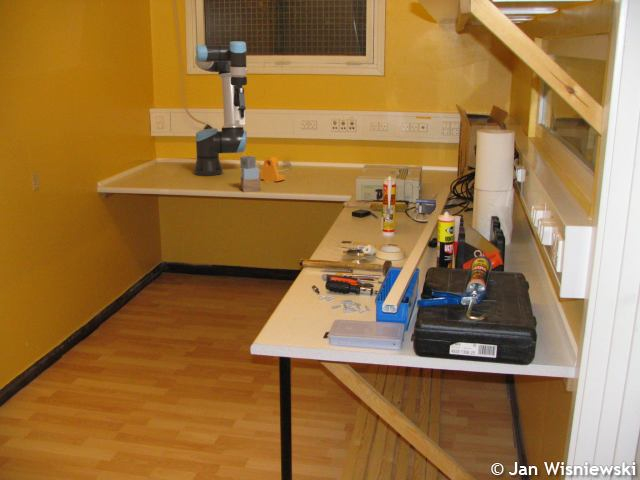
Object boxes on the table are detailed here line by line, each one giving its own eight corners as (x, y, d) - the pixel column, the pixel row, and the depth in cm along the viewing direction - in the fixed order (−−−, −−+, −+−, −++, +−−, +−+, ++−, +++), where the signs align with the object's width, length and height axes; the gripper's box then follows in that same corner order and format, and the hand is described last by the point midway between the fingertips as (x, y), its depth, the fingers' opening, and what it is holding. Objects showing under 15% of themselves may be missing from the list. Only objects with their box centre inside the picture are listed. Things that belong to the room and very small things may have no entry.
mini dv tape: (415, 213, 278) (415, 199, 277) (415, 212, 280) (415, 198, 278) (435, 214, 277) (435, 200, 275) (435, 214, 278) (436, 199, 276)
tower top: (241, 176, 322) (241, 166, 321) (256, 176, 324) (255, 165, 323) (244, 179, 316) (243, 169, 314) (258, 178, 318) (258, 168, 316)
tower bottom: (240, 188, 324) (240, 176, 323) (257, 188, 326) (257, 175, 325) (243, 192, 317) (243, 179, 315) (260, 191, 319) (260, 178, 317)
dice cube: (247, 169, 315) (247, 158, 313) (240, 167, 318) (240, 157, 316) (255, 167, 318) (255, 156, 317) (248, 166, 321) (248, 155, 320)
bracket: (285, 180, 344) (285, 157, 340) (277, 182, 338) (276, 159, 334) (268, 178, 349) (268, 155, 346) (260, 180, 343) (259, 157, 340)
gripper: (251, 78, 301) (252, 126, 308) (242, 73, 324) (243, 118, 331) (234, 78, 299) (236, 126, 306) (226, 74, 322) (228, 118, 329)
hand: (239, 122), depth 318 cm, fingers open, 13 cm apart
